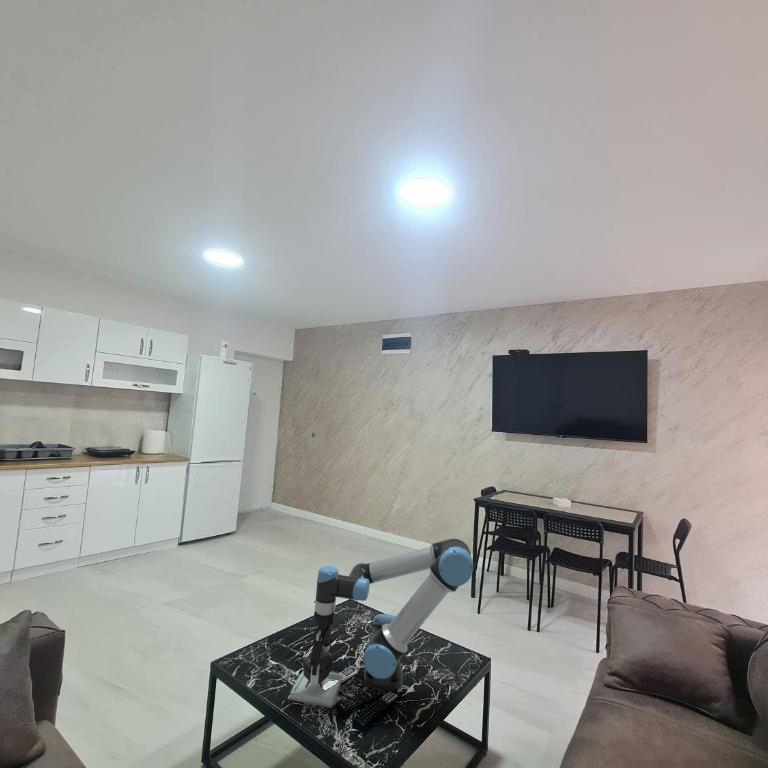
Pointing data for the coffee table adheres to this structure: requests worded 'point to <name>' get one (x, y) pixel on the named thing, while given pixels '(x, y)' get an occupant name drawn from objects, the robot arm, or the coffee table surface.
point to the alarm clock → (324, 668)
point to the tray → (316, 691)
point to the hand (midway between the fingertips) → (318, 673)
